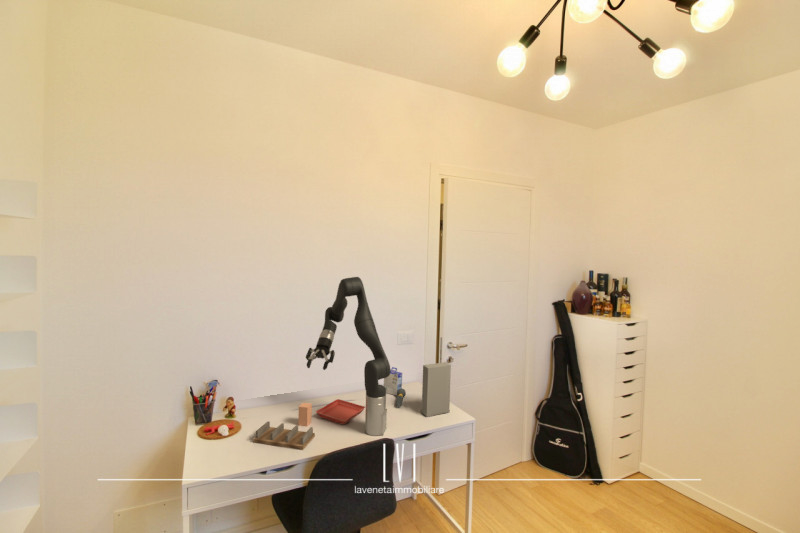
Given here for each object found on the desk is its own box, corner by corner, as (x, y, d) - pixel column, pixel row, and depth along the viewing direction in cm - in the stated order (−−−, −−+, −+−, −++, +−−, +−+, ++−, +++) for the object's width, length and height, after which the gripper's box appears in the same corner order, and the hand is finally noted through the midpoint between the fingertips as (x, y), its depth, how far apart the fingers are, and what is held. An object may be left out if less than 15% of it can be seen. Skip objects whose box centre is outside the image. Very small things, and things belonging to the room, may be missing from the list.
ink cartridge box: (402, 393, 206) (403, 368, 205) (397, 396, 201) (398, 371, 201) (388, 389, 211) (388, 365, 210) (383, 392, 206) (383, 368, 206)
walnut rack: (314, 436, 155) (314, 426, 155) (303, 450, 145) (303, 439, 144) (267, 429, 160) (268, 420, 160) (253, 442, 149) (253, 432, 149)
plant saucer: (365, 412, 181) (365, 406, 180) (344, 427, 165) (344, 420, 164) (337, 404, 189) (337, 398, 189) (314, 418, 173) (314, 411, 173)
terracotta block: (311, 422, 168) (311, 403, 168) (307, 426, 164) (307, 407, 164) (302, 420, 169) (303, 402, 169) (298, 425, 165) (298, 406, 164)
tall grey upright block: (443, 407, 188) (444, 361, 187) (449, 412, 182) (451, 365, 181) (420, 412, 182) (422, 364, 181) (426, 417, 176) (428, 368, 175)
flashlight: (404, 409, 185) (405, 400, 185) (395, 409, 185) (395, 399, 185) (405, 394, 205) (406, 385, 204) (397, 393, 205) (397, 385, 205)
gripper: (311, 335, 186) (300, 363, 175) (336, 337, 183) (327, 366, 173) (315, 342, 192) (305, 370, 181) (339, 345, 189) (331, 373, 178)
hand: (316, 368), depth 177 cm, fingers open, 8 cm apart
